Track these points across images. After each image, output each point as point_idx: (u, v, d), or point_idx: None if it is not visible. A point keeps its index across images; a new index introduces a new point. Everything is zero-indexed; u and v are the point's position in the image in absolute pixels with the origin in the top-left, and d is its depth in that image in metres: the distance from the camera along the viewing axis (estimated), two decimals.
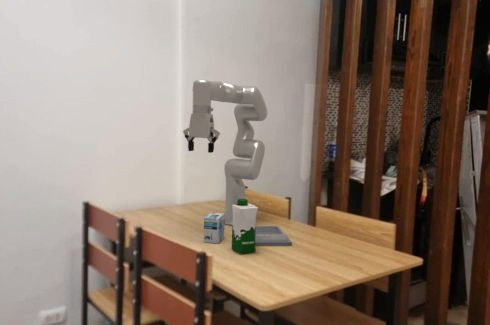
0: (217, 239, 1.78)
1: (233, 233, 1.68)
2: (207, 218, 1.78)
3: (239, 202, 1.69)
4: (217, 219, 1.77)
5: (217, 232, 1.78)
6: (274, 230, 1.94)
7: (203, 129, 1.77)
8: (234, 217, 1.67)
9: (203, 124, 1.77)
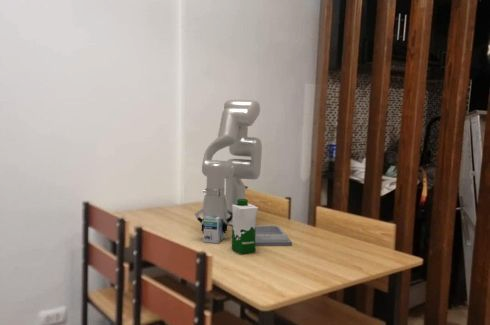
0: (217, 239, 1.78)
1: (233, 233, 1.68)
2: (207, 218, 1.78)
3: (239, 202, 1.69)
4: (217, 219, 1.77)
5: (217, 232, 1.78)
6: (274, 230, 1.94)
7: None
8: (234, 217, 1.67)
9: None
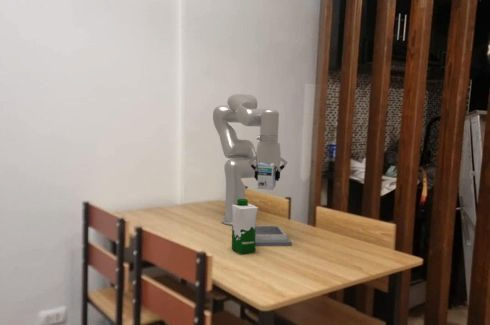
0: (271, 185, 1.79)
1: (233, 233, 1.68)
2: (261, 164, 1.79)
3: (239, 202, 1.69)
4: (272, 165, 1.78)
5: (271, 178, 1.78)
6: (274, 230, 1.94)
7: None
8: (234, 217, 1.67)
9: None
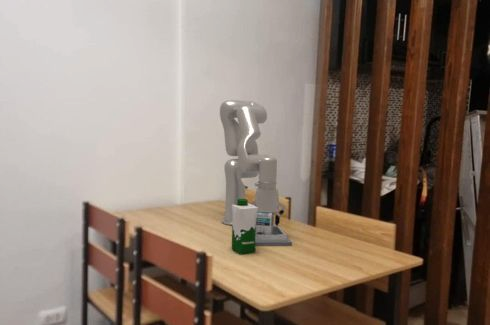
0: None
1: (233, 233, 1.68)
2: (259, 214, 1.81)
3: (239, 202, 1.69)
4: (270, 215, 1.81)
5: (270, 228, 1.81)
6: (274, 230, 1.94)
7: None
8: (234, 217, 1.67)
9: None
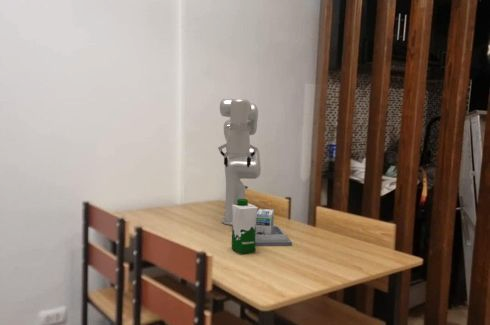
0: None
1: (233, 233, 1.68)
2: (259, 214, 1.81)
3: (239, 202, 1.69)
4: (270, 215, 1.81)
5: (270, 228, 1.81)
6: (274, 230, 1.94)
7: None
8: (234, 217, 1.67)
9: None
